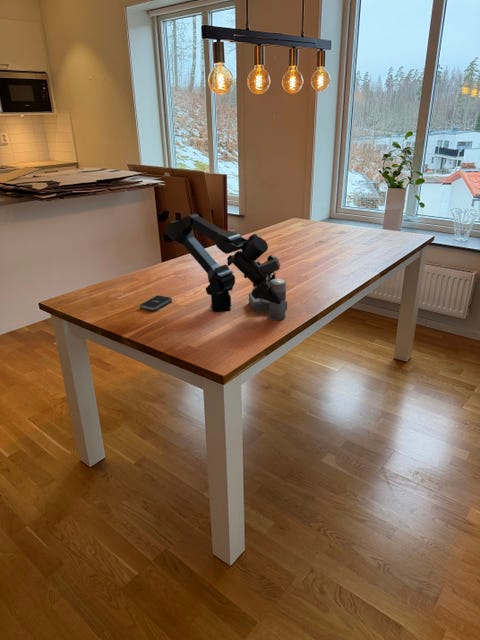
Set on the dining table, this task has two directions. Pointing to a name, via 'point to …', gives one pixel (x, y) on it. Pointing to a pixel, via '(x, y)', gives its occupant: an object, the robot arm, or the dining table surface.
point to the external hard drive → (155, 303)
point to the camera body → (260, 304)
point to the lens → (280, 290)
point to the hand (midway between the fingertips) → (281, 299)
